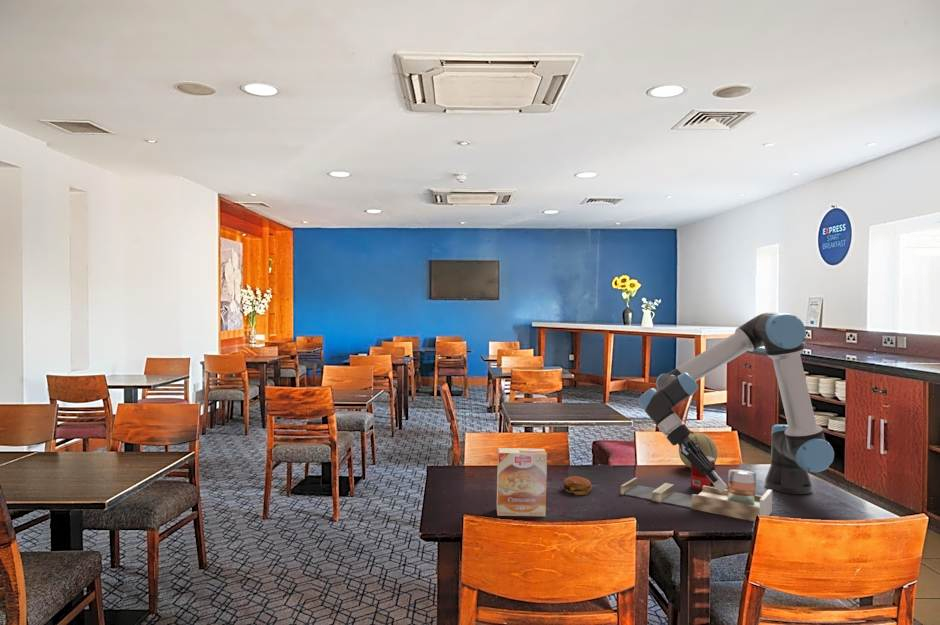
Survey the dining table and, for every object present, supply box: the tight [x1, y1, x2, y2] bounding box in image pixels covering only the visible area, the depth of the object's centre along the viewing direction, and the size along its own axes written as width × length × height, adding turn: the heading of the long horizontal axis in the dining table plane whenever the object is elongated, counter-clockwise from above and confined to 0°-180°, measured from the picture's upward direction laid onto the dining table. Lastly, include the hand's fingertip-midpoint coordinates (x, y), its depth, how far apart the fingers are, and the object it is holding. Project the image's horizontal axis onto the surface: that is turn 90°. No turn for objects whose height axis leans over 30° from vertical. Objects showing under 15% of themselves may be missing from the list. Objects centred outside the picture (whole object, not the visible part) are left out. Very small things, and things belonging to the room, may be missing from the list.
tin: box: [727, 469, 757, 504], centre depth 198 cm, size 8×8×9 cm
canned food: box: [690, 456, 716, 492], centre depth 222 cm, size 8×8×11 cm
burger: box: [563, 475, 593, 496], centre depth 216 cm, size 10×9×5 cm
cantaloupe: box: [678, 430, 719, 469], centre depth 248 cm, size 15×15×15 cm
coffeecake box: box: [496, 447, 548, 517], centre depth 192 cm, size 15×7×20 cm, turn 90°
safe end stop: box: [727, 488, 773, 516], centre depth 195 cm, size 12×13×7 cm
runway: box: [620, 477, 763, 522], centre depth 205 cm, size 44×13×4 cm, turn 54°
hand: (724, 489), depth 198 cm, fingers closed
